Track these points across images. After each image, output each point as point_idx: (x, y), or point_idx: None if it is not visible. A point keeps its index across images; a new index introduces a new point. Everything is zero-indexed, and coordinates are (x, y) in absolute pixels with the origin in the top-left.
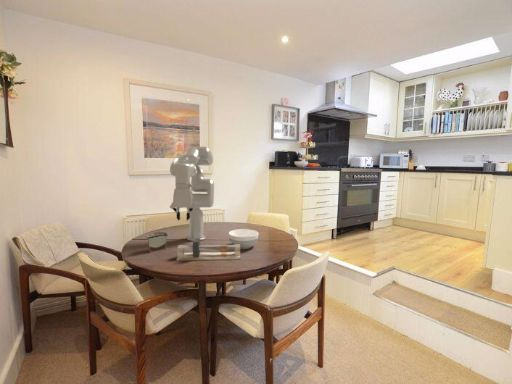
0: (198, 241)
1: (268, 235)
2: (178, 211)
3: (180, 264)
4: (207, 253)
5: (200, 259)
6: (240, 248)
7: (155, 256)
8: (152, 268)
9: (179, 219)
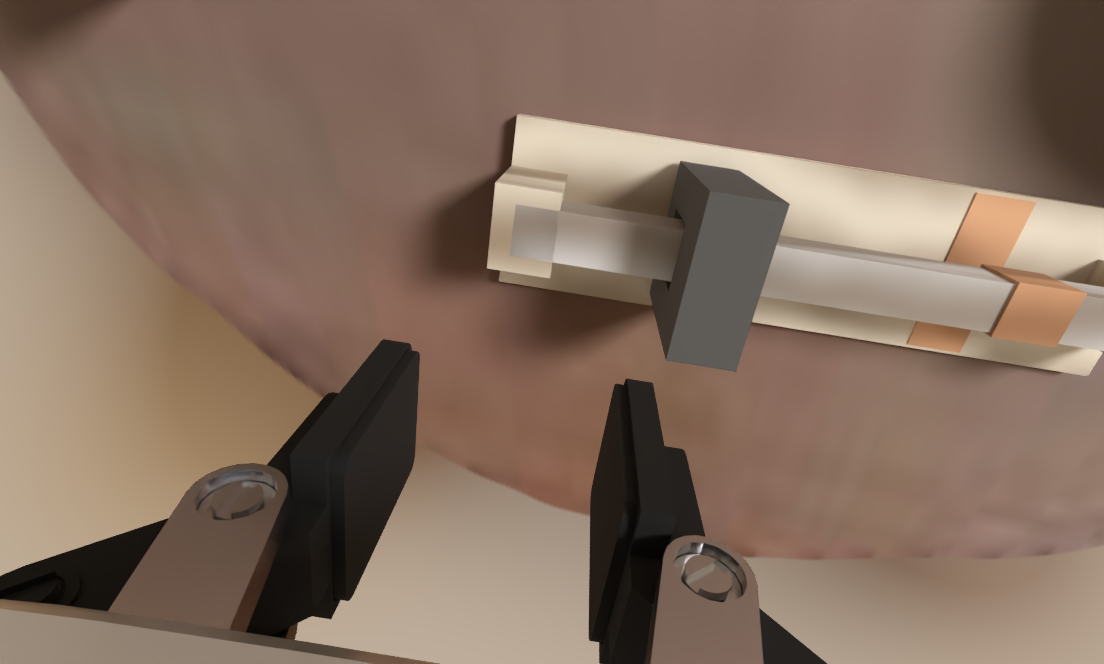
0: (740, 341)
1: None
2: (289, 610)
3: (541, 364)
4: (811, 198)
5: None
6: None
7: (278, 115)
8: None
9: (413, 423)
